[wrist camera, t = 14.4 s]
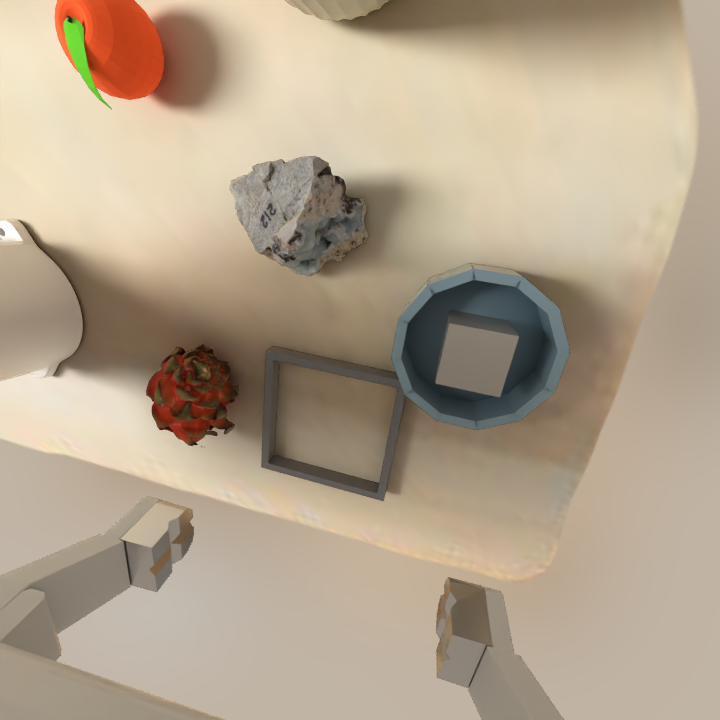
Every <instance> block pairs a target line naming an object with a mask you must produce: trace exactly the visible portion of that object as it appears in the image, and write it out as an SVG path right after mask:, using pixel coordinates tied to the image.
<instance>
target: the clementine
mask: <svg viewBox="0 0 720 720" xmlns="http://www.w3.org/2000/svg"><path fill="white" fill-rule="evenodd" d="M55 26H56V31H57V35H58V39H59V41H60V44H61V46H62V48H63V50H64V52H65V54H66V56H67V57H68V59H69V60H70V62H71V63H72V65H73V66H74V68H75V69H76V70H77V71H78V72H79V73H80V74H81V76H82V78H83V79H84V81H85V82H86V84H87V86H88V87H89V88H90V90H91V91H92V92H93V93H94V94H95V95H96V97H97V98H98V99H99V100H100V101H102V102H103V103H104V104H105V105H107V106H108V107H109V108H110V106H109V105H108V104H107V103H106V102H105V101H104V100H103V99H102V97H101V96H100V94H99V92H98V90H97V89H96V88H98V89H100V90H101V91H103V92H105V93H107V94H108V95H110V96H114V97H118V98H123V99H128V100H132V99H138V98H142V97H145V96H147V95H149V94H151V93H152V92H153V91H154V90H155V88H156V87H157V86H158V85H159V83H160V81H161V78H162V76H163V71H164V53H163V48H162V43H161V40H160V37H159V35H158V32H157V30H156V28H155V27H154V25H153V23H152V22H151V20H150V18H149V17H148V15H147V14H146V12H145V11H144V10H143V9H142V8H141V7H140V6H139V5H138V4H137V3H136V2H135V1H134V0H57V4H56V8H55ZM110 109H111V108H110Z"/></svg>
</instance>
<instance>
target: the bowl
mask: <svg viewBox="0 0 720 720" xmlns="http://www.w3.org/2000/svg"><path fill="white" fill-rule="evenodd" d="M449 310H455V311H460V312H466V313H471V314H477V315H482V316H488V317H493V318H499V319H504V320H509V322H510V323H511V325H512V326H513V328H514V329H515V331H516V332H517V334H518V335H519V339H518V342H517V345H516V348H515V351H514V354H513V358H512V361H511V364H510V367H509V370H508V373H507V377H506V380H505V383H504V386H503V389H502V392H501V396H500V397H495V396H491V395H486V394H482V393H477V392H472V391H468V390H463V389H459V388H454V387H449V386H445V385H440V384H436V383H435V381H436V370H437V361H438V356H439V352H440V348H441V343H442V339H443V335H444V331H445V326H446V322H447V318H448V313H449ZM569 351H570V349H569V345H568V341H567V337H566V333H565V329H564V325H563V321H562V317H561V313H560V309H559V307H558V306H557V305H555V304H554V303H553V302H552V301H551V300H550V299H548V298H547V297H546V296H545V295H544V294H543V293H542V292H540V291H539V290H538V289H537V288H536V287H535V286H533V285H532V284H531V283H530V282H529V281H528V280H527V279H525V278H524V277H523V276H521V275H520V274H518V273H517V272H515V271H514V270H511V269H504V268H498V267H492V266H486V265H479V264H473V263H471V264H470V263H469V264H466V265H463V266H461V267H458V268H455V269H452V270H450V271H447V272H444V273H442V274H439V275H436V276H433V277H431V278H430V279H429V280H428V281H427V282H426V283H425V284H424V286H423V287H422V288H421V289H420V290H419V291H418V292H417V294H416V295H415V296H414V297H413V298H412V299H411V301H410V302H409V303H408V304H407V305H406V306H405V308H404V310H403V311H402V313H401V315H400V317H399V319H398V323H397V329H396V334H395V340H394V345H393V351H392V356H391V360H392V362H393V365H394V368H395V370H396V373H397V375H398V378H399V381H400V383H401V386H402V389H403V391H404V394H406V396H407V397H408V398H409V399H410V400H412V401H413V402H414V403H415V404H416V405H418V406H419V407H420V408H421V409H422V410H424V411H425V412H426V413H427V414H428V415H430V416H431V417H432V418H433V419H434V420H436V421H440V422H444V423H448V424H452V425H457V426H461V427H465V428H469V429H474V430H476V429H477V430H480V429H484V428H489V427H494V426H498V425H503V424H508V423H512V422H517V421H519V420H521V419H523V418H524V417H525V416H526V415H528V414H529V413H530V412H531V411H533V410H534V409H535V408H536V407H538V406H539V405H540V404H541V403H543V402H544V401H545V400H546V399H548V398H549V397H550V396H551V395H553V394H554V393H555V390H556V387H557V385H558V382H559V379H560V377H561V374H562V372H563V369H564V366H565V364H566V361H567V358H568V356H569V353H570V352H569ZM553 392H554V393H553Z"/></svg>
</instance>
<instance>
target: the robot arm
mask: <svg viewBox="0 0 720 720" xmlns="http://www.w3.org/2000/svg"><path fill="white" fill-rule="evenodd" d="M82 331H83V321H82V314H81V309H80V305H79V302H78V299H77V297H76V294H75V292H74V290H73V288H72V286H71V284H70V282H69V281H68V279H67V278H66V276H65V275H64V273H63V272H62V271H61V269H60V268H59V267H58V266H57V265H56V264H55V262H54V261H53V260H52V259H50V258H49V257H48V256H47V255H46V254H45V253H44V252H43V251H42V250H41V249H40V248H39V247H38V246H37V245H36V244H35V242H34V241H33V239H32V237H31V236H30V234H29V233H28V231H27V230H26V228H25V227H24V226H23V225H22V224H21V223H20V222H19V221H17V220H14V219H11V220H0V381H3V380H6V379H10V378H14V377H17V376H21V375H25V374H28V373H30V374H32V375H34V376H37V377H39V378H45V377H49V376H52V375H53V374H54V373H55V371H56V369H57V367H58V365H59V363H60V362H61V361H63V360H65V359H66V358H68V357H70V356H71V355H72V354H73V353H74V352H75V351H76V350H77V348H78V346H79V344H80V341H81V338H82ZM192 518H193V512H192V509H190V508H186V507H183V506H180V505H176V504H173V503H170V502H167V501H163V500H160V499H156V498H153V497H149V496H147V497H145V498H143V499H142V500H140V501H139V502H138V503H137V504H136V505H135V506H134V507H133V508H132V509H131V510H130V511H129V512H128V513H127V514H125V515H124V516H123V517H122V518H121V519H120V520H119V521H118V522H117V523H116V524H115V525H114V526H113V527H112V528H111V529H109V530H108V531H107V532H106V533H105V534H104V535H100V534H98V535H96V536H93V537H91V538H89V539H86V540H84V541H81V542H79V543H77V544H74V545H72V546H70V547H68V548H65V549H63V550H60V551H58V552H55V553H53V554H51V555H49V556H46V557H44V558H41V559H39V560H36V561H34V562H32V563H30V564H27V565H25V566H22V567H20V568H17V569H15V570H13V571H10V572H8V573H6V574H3V575H1V576H0V720H224V719H221V718H218V717H216V716H212V715H210V714H207V713H204V712H201V711H198V710H195V709H192V708H190V707H187V706H184V705H181V704H178V703H175V702H172V701H169V700H166V699H164V698H161V697H158V696H155V695H152V694H149V693H146V692H143V691H140V690H137V689H135V688H132V687H129V686H126V685H123V684H120V683H117V682H114V681H111V680H109V679H106V678H103V677H100V676H97V675H94V674H91V673H88V672H86V671H82V670H80V669H77V668H74V667H71V666H68V665H65V664H62V663H59V662H57V661H56V660H57V659H58V658H59V657H60V656H61V646H60V643H59V639H58V636H57V634H58V633H60V632H61V631H63V630H64V629H66V628H68V627H69V626H70V625H72V624H74V623H75V622H77V621H78V620H80V619H81V618H83V617H85V616H86V615H88V614H89V613H91V612H92V611H94V610H95V609H97V608H99V607H100V606H102V605H103V604H105V603H106V602H108V601H109V600H111V599H113V598H114V597H116V596H117V595H119V594H120V593H122V592H123V591H125V590H127V589H128V588H130V585H132V586H136V587H140V588H143V589H147V590H151V591H155V592H157V591H158V590H159V589H160V587H161V586H162V585H163V583H164V582H165V581H166V580H167V578H168V577H169V576H170V574H171V573H172V564H173V563H176V562H177V561H179V560H181V559H182V558H183V557H184V555H185V554H186V553H187V551H188V549H189V547H190V545H191V543H192V541H193V536H194V527H193V526H192V525H191V523H190V520H191V519H192ZM436 633H437V635H438V637H439V638H440V641H439V644H438V647H437V650H436V652H437V654H436V656H437V678H440V679H442V680H445V681H448V682H452V683H454V684H457V685H460V686H464V687H466V688H469V690H468V691H469V693H470V695H471V697H472V700H473V702H474V704H475V706H476V708H477V710H478V712H479V715H480V717H481V719H482V720H564V719H563V718H562V716H561V715H560V713H559V712H558V710H557V709H556V707H555V706H554V704H553V703H552V702H551V700H550V699H549V697H548V696H547V694H546V693H545V691H544V690H543V689H542V687H541V685H540V684H539V683H538V681H537V680H536V678H535V677H534V675H533V674H532V672H531V671H530V669H529V668H528V667H527V665H526V664H525V662H524V661H523V659H522V658H521V656H519V655H516V654H514V649H513V644H512V639H511V633H510V628H509V623H508V618H507V613H506V608H505V602H504V598H503V594H502V592H501V591H498V590H494V589H491V588H487V587H482V586H481V585H477V584H473V583H469V582H465V581H461V580H457V579H454V578H449V577H448V578H447V579H446V582H445V585H444V594H443V595H442V596H441V597H440V601H439V604H438V610H437V620H436Z"/></svg>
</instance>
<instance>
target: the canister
mask: <svg viewBox="0 0 720 720" xmlns="http://www.w3.org/2000/svg"><path fill="white" fill-rule="evenodd" d="M285 1H286V2H287V3H289V4H290V5H292V6H293V7H296V8H298V9H300V10H301V11H302V12H303V13H305V14H307V15H315V16H316V17H318V18H319V19H322V20H324V19H332V20H334V21H340V20H342V19H348V20H353V19H354V18H356V17H359V16H366V15H367V14H368V13H370V12H371V11H373V10H376V9H380V8H381V6H382V5H384V4H385V3H386V2H388V1H390V0H285Z"/></svg>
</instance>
